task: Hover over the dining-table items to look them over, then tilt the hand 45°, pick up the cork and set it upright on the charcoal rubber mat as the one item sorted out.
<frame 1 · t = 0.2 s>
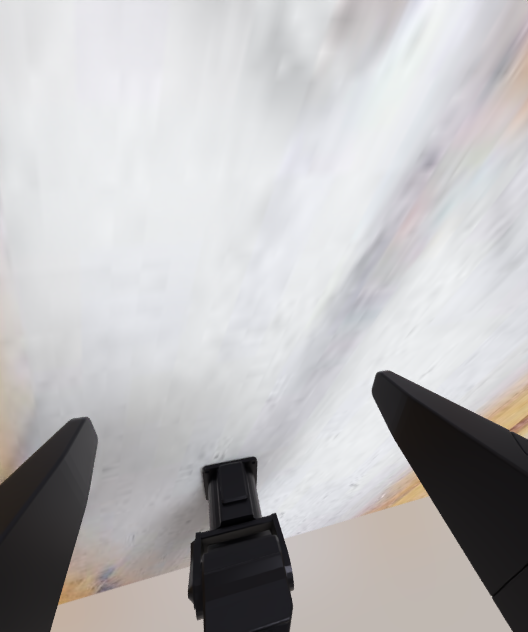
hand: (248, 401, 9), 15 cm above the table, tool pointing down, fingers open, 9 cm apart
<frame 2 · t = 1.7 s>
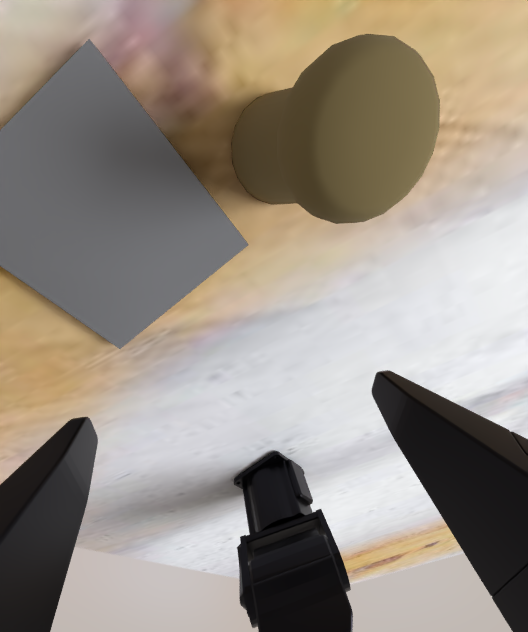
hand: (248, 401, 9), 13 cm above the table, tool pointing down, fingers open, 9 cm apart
cork: (278, 153, 17), on the table
charcoal mat: (112, 227, 17), on the table
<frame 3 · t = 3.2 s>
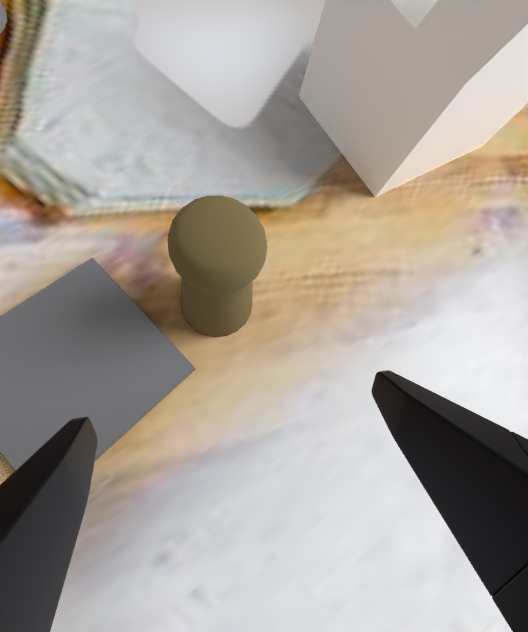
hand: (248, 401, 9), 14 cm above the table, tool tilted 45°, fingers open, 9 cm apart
cork: (217, 303, 24), on the table
white slotted block: (392, 125, 34), on the table
charcoal mat: (77, 367, 20), on the table
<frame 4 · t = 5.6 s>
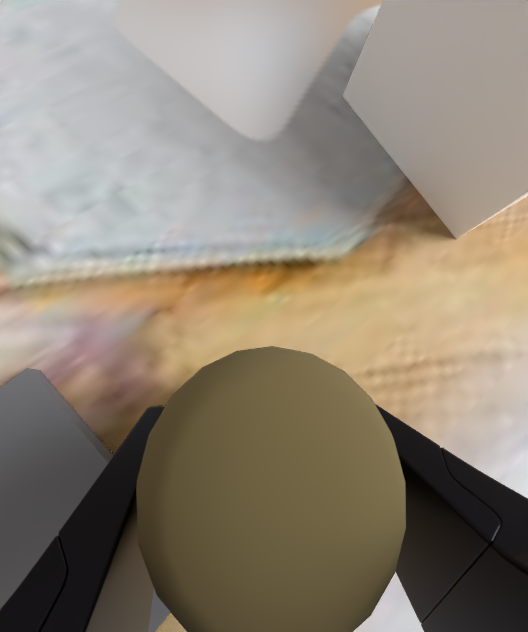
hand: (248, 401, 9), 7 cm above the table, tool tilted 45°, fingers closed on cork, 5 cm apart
cork: (236, 426, 15), on the table, touching gripper
white slotted block: (466, 134, 25), on the table
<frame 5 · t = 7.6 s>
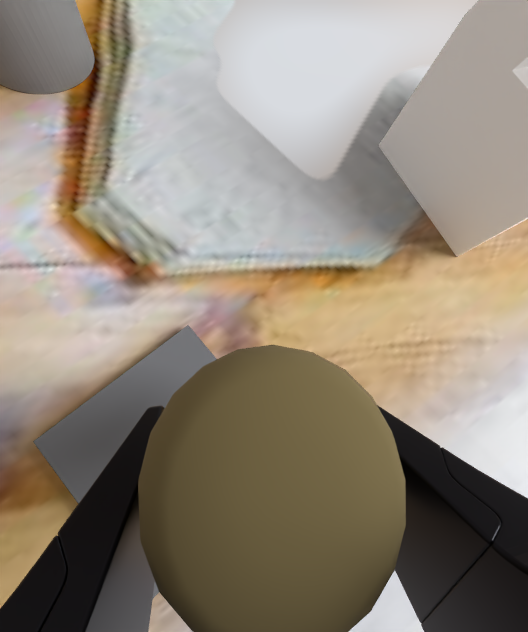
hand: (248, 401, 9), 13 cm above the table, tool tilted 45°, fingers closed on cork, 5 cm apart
cork: (238, 425, 15), point 6 cm above the table, touching gripper
white slotted block: (470, 176, 33), on the table
charcoal mat: (173, 443, 20), on the table
coffee mug: (19, 60, 26), on the table
when the fingers open (8 cm above the table, at t = 9.9 s): cork stays where it is, resting on charcoal mat.
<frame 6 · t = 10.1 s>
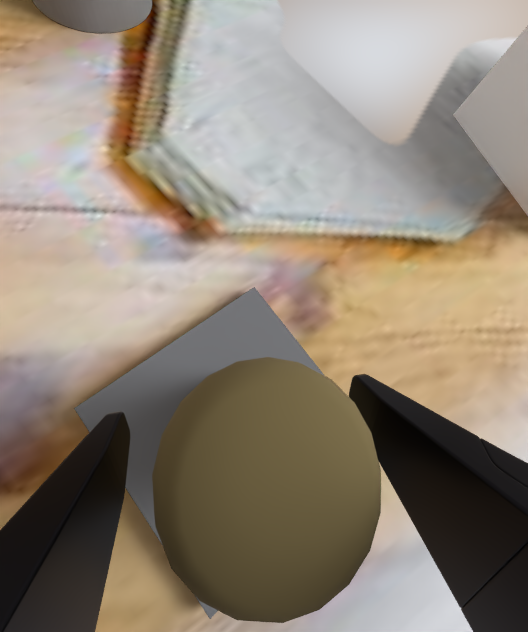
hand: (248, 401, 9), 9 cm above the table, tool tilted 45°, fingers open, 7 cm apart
cork: (237, 426, 16), point 1 cm above the table, touching charcoal mat
charcoal mat: (234, 423, 16), on the table
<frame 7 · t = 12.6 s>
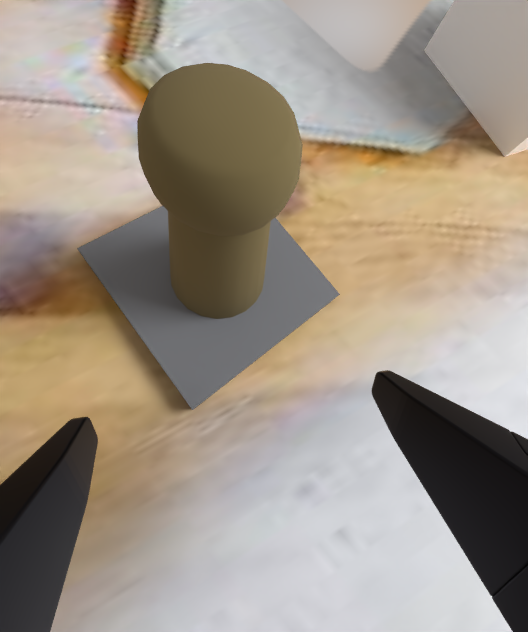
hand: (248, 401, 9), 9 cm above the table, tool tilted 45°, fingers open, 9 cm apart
cork: (218, 275, 18), point 1 cm above the table, touching charcoal mat
white slotted block: (516, 90, 32), on the table
charcoal mat: (216, 279, 19), on the table
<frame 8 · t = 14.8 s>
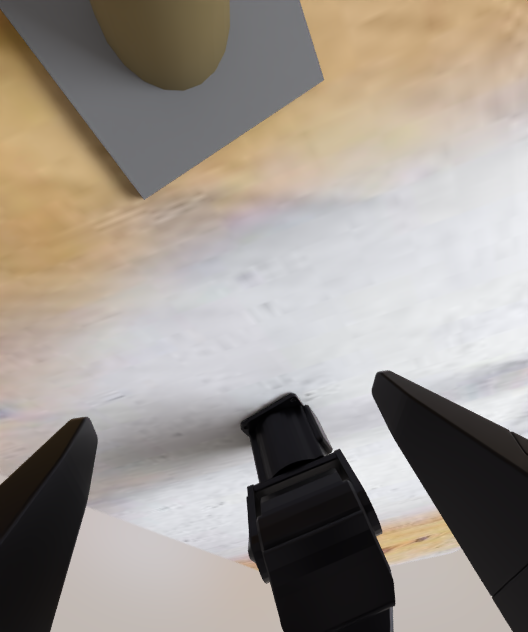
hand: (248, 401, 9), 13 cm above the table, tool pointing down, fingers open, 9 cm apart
cork: (163, 8, 13), point 1 cm above the table, touching charcoal mat
charcoal mat: (162, 12, 13), on the table
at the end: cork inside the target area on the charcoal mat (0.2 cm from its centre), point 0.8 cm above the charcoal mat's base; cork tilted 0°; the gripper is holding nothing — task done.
